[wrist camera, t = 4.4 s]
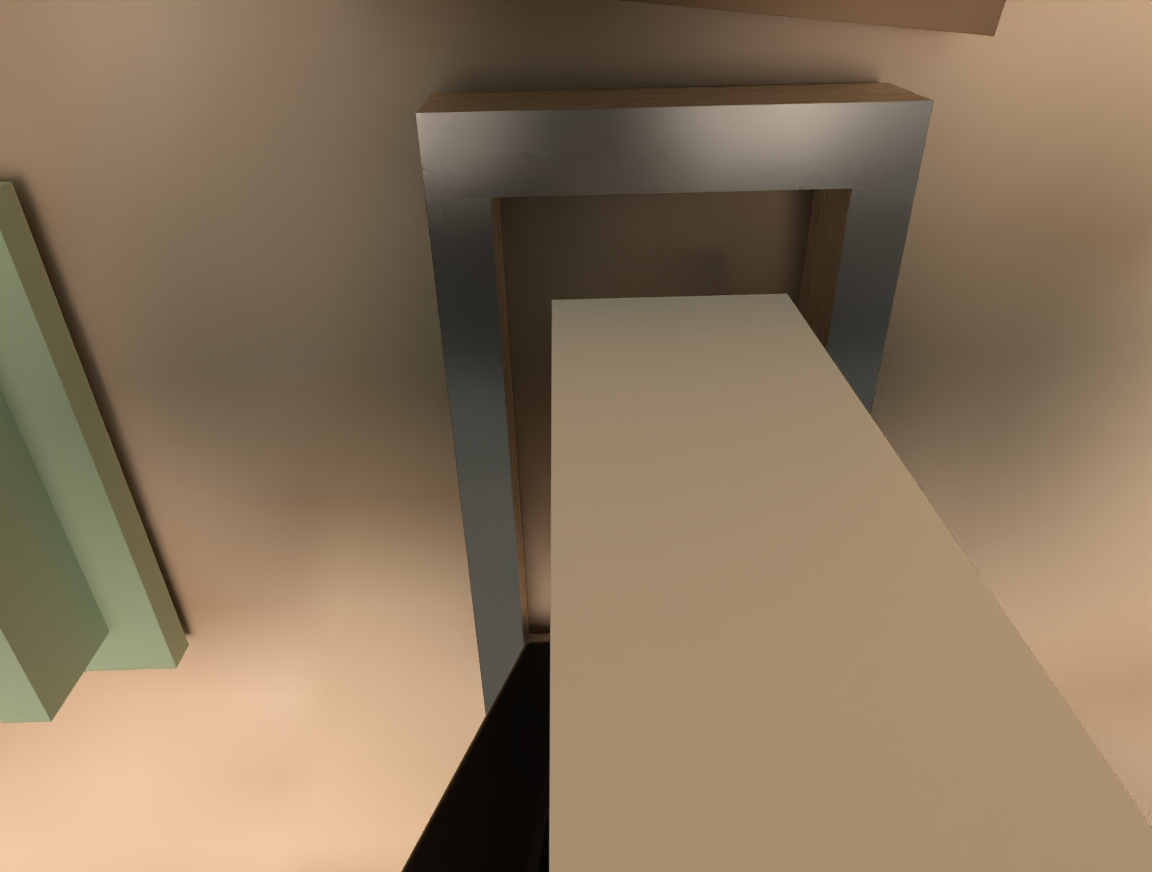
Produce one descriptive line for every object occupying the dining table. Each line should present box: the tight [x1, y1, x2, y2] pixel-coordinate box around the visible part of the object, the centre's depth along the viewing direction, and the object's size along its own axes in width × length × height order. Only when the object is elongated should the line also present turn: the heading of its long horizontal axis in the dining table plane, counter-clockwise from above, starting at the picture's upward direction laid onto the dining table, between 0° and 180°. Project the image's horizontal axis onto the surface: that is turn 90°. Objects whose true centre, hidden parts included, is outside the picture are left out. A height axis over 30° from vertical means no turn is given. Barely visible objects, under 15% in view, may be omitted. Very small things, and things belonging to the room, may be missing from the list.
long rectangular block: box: [549, 294, 1152, 872], centre depth 8 cm, size 3×6×9 cm, turn 1°
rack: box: [415, 83, 933, 715], centre depth 13 cm, size 6×11×2 cm, turn 1°
